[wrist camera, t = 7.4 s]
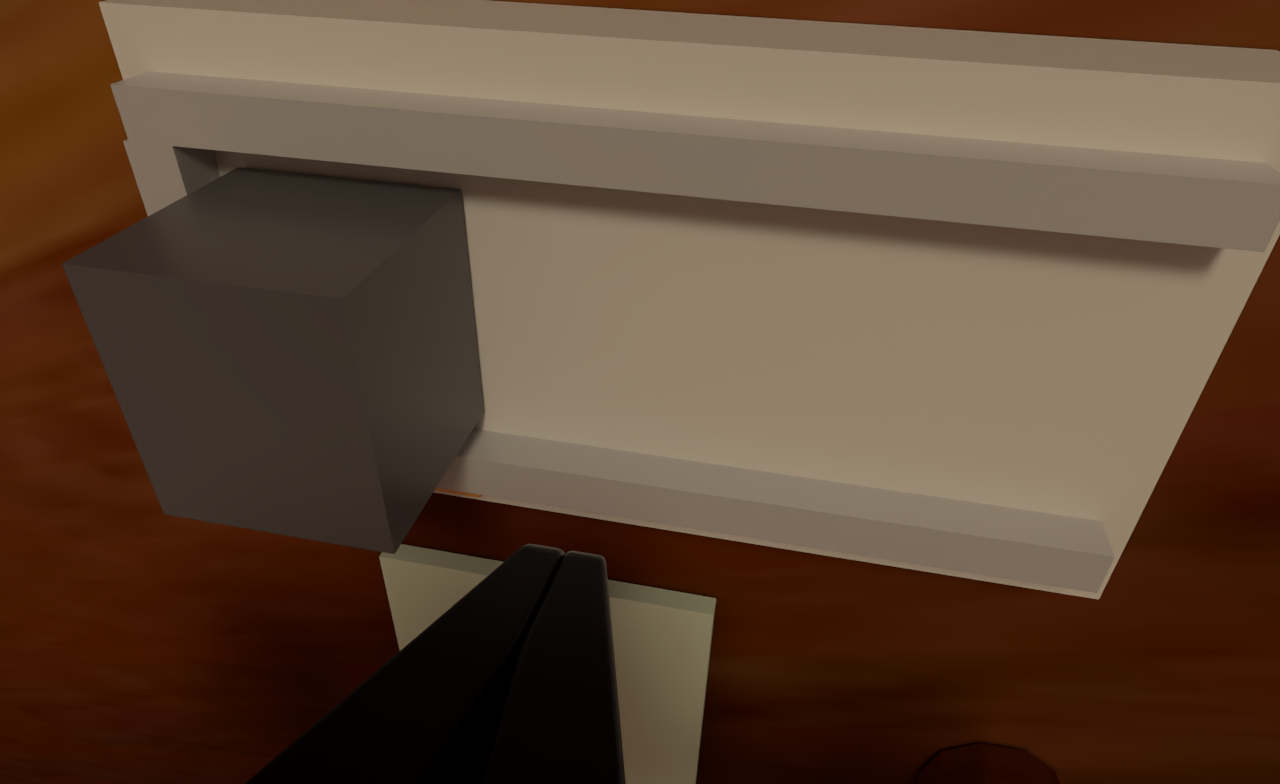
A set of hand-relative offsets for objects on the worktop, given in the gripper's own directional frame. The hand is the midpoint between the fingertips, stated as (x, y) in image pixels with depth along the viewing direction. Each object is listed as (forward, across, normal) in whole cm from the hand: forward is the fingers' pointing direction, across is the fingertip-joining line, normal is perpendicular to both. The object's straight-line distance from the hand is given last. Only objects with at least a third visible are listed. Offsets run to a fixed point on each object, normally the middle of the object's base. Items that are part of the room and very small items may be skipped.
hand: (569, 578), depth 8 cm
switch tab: (+5, +5, 0) cm, 7 cm away
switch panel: (+7, 0, 0) cm, 7 cm away
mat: (+7, +3, +12) cm, 14 cm away
